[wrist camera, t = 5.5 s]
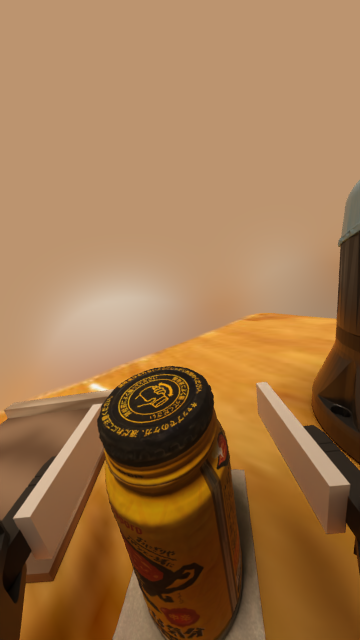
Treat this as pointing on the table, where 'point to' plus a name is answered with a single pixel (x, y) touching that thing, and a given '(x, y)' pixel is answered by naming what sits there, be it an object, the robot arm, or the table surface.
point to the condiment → (179, 512)
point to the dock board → (42, 459)
